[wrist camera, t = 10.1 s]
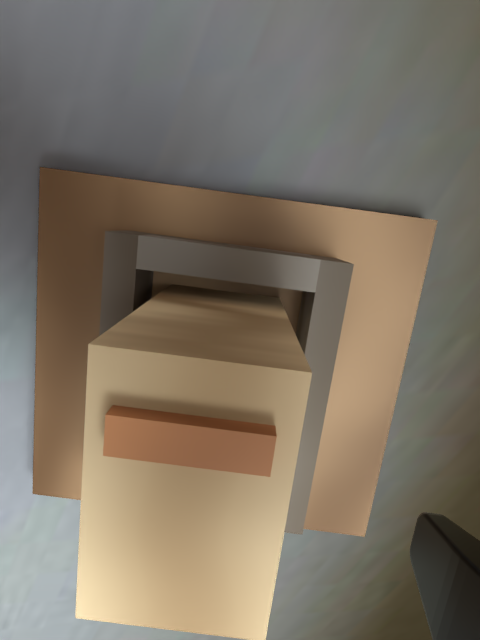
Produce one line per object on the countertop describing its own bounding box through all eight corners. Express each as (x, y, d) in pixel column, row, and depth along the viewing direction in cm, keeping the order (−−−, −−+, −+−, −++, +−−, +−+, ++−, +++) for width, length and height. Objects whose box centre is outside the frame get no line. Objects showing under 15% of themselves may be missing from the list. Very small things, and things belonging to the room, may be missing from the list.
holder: (44, 479, 18) (-4, 538, 15) (53, 170, 15) (-4, 154, 12) (358, 520, 18) (383, 587, 15) (425, 221, 15) (476, 219, 12)
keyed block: (158, 432, 16) (66, 636, 8) (171, 284, 15) (78, 351, 7) (257, 444, 16) (265, 661, 8) (279, 297, 15) (315, 381, 7)
